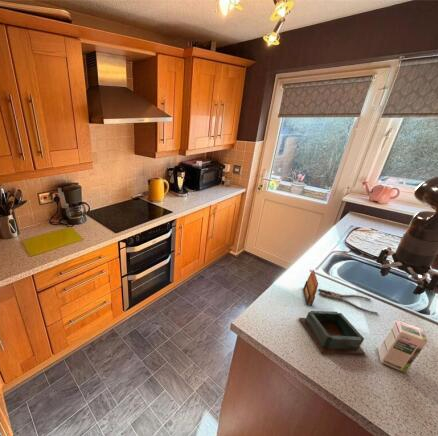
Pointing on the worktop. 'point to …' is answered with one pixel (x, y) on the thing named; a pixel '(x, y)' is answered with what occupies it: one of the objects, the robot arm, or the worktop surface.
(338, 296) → the pliers
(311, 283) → the orange brown flat panel
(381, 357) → the syrup box
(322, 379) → the worktop surface
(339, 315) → the holder
